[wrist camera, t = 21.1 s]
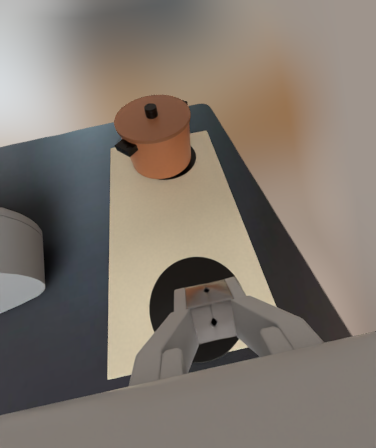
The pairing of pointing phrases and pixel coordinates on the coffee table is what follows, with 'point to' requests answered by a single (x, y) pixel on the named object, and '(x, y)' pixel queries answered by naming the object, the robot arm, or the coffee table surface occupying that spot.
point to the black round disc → (185, 277)
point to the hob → (169, 242)
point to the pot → (155, 135)
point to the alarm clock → (20, 260)
